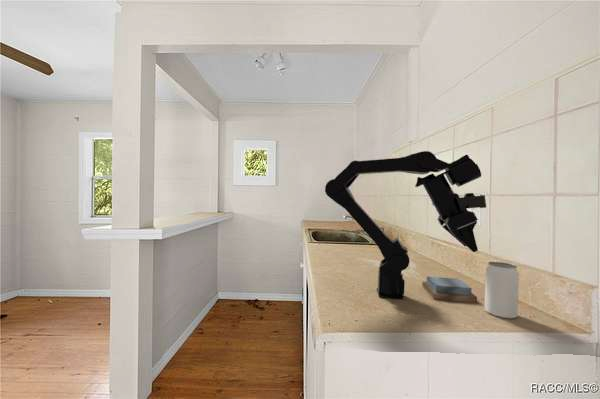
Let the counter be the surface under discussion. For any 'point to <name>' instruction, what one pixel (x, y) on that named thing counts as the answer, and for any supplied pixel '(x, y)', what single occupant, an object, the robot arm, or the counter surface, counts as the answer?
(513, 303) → the can
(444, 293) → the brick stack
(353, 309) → the counter surface
